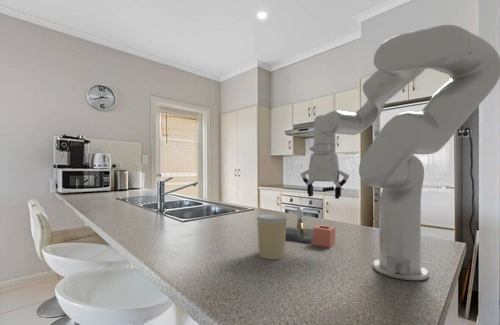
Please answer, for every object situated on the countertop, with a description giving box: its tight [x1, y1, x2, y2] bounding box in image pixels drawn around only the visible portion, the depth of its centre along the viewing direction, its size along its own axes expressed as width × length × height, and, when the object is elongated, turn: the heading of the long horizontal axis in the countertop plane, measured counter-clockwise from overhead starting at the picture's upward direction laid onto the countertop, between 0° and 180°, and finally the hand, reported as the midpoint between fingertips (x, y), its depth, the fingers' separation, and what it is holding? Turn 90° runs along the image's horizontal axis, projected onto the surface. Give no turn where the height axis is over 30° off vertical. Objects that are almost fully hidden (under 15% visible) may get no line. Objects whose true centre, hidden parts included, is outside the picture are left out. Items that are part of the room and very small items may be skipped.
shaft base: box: [285, 206, 313, 244], centre depth 103 cm, size 16×13×11 cm
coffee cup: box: [256, 213, 288, 260], centre depth 80 cm, size 9×9×12 cm
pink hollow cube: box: [312, 224, 336, 249], centre depth 92 cm, size 6×6×6 cm
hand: (323, 197), depth 93 cm, fingers open, 9 cm apart
